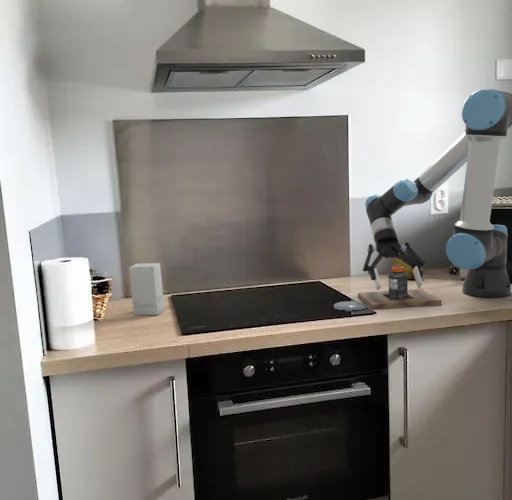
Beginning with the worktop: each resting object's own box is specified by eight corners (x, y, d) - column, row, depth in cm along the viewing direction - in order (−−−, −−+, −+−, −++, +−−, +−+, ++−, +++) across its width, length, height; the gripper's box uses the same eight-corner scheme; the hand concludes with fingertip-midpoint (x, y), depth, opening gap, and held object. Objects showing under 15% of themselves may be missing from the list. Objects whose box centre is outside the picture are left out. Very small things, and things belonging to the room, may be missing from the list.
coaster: (360, 302, 182) (360, 300, 182) (370, 310, 172) (370, 308, 172) (330, 304, 181) (330, 302, 181) (338, 312, 171) (338, 310, 171)
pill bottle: (405, 298, 185) (406, 264, 183) (409, 303, 179) (409, 268, 177) (387, 298, 186) (387, 265, 184) (389, 303, 180) (389, 268, 178)
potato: (405, 281, 210) (405, 260, 209) (390, 275, 223) (390, 255, 222) (425, 280, 212) (426, 259, 211) (410, 273, 224) (410, 254, 223)
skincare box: (164, 310, 181) (161, 262, 179) (157, 316, 175) (153, 266, 172) (140, 310, 183) (137, 262, 181) (131, 315, 176) (128, 266, 174)
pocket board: (421, 293, 191) (421, 289, 191) (441, 304, 176) (441, 300, 175) (357, 297, 189) (357, 292, 189) (372, 309, 173) (372, 304, 173)
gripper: (416, 239, 196) (433, 290, 184) (346, 242, 194) (359, 295, 182) (423, 225, 190) (441, 277, 178) (350, 228, 188) (363, 282, 176)
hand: (399, 286), depth 180 cm, fingers open, 13 cm apart
